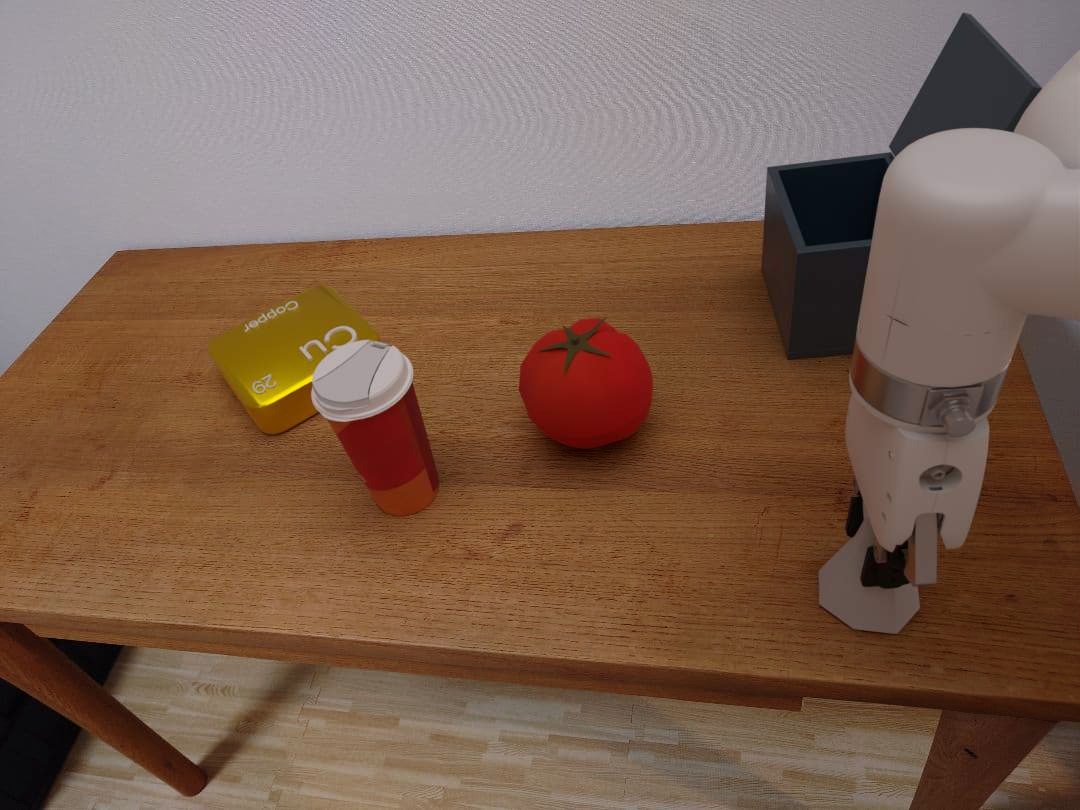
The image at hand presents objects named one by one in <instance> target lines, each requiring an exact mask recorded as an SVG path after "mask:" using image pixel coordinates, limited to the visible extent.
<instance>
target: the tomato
mask: <svg viewBox="0 0 1080 810" xmlns="http://www.w3.org/2000/svg"><path fill="white" fill-rule="evenodd" d="M608 317H609V315H607V316H605V317H604V318H603V319H602V318H598V317H593V318H580V319H578V320H577V321H576V322H574V323H573V324H571V325H570V326H569V327H566V326H565V325H562V328H559V329H553V330H551V331H549V332H546V333H545V334H544V335H542V336H541V337H540V338H539V339H538V340H537V341H535V342H534V343H533V345H532V347H531V348H530V350H529V351H528V353H527V354H526V355H525V357H524V359H523V360H522V362H521V363H520V365H519V366H520V367H519V379H518V380H519V381H518V392H519V394H520V397H521V399H522V402H523V404H524V408H525V410H526V414H527V415H528V418H529V420H530V421H531V422H532V423H533V424H534V425H535V426H536V427H537V428H538V429H539V430H540V431H541V432H542V433H543V435H545V437H547V438H549V439H551V440H553V441H556V442H558V443H559V444H562V445H564V446H566V447H569V448H570V447H571V448H576V449H577V448H578V449H595V448H599V447H603V446H606V445H608V444H611V443H614V442H617V441H621V440H624V439H627V438H629V437H630V436H632V435H633V434H635V433H636V432H637V431H638V430H639V429H640V428H641V426H642V425H643V424H644V422H645V421H646V419H647V418H648V416H649V414H650V410H651V406H652V400H653V392H654V380H653V379H654V378H653V373H652V369H651V366H650V364H649V362H648V360H647V358H646V356H645V354H644V352H643V351H642V349H641V347H640V346H639V344H638V343H637V342H636V341H635V340H634V339H633V338H632V337H630V336H629V335H628V334H627V333H625V332H619V331H618V330H617V329H616V328H615V327H614V326H612V325H611V324H609V323H608V322H606V319H607V318H608Z"/></svg>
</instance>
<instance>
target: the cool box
mask: <svg viewBox="0 0 1080 810" xmlns="http://www.w3.org/2000/svg"><path fill="white" fill-rule="evenodd" d="M894 159H895V156H894V155H893V153H892V151H888V152H881V153H872V154H864V155H863V154H862V155H856V156H848V157H839V158H833V159H832V158H831V159H830V158H829V159H821V160H814V161H805V162H798V163H789V164H782V165H781V164H780V165H772V166H767V167H766V180H765V197H764V198H765V199H764V215H763V233H762V250H761V251H762V252H761V266H760V267H761V269H760V270H761V272H762V276H763V279H764V283H765V287H766V290H767V294H768V297H769V300H770V301H769V302H770V304H771V307H772V310H773V315H774V318H775V321H776V324H777V327H778V331H779V335H780V338H781V341H782V344H783V345H782V346H783V349H784V352H785V356H786V359H787V360H797V359H798V360H799V359H808V358H809V359H810V358H818V357H819V358H820V357H829V356H830V357H831V356H841V355H851V354H852V355H853V349H854V343H855V337H856V332H857V325H858V319H859V314H860V308H861V302H862V296H863V290H864V284H865V278H866V273H867V267H868V261H869V255H870V249H871V243H872V237H873V231H874V225H875V219H876V213H877V207H878V201H879V196H880V191H881V187H882V183H883V179H884V176H885V174H886V171H887V169H888V167H889V166H890V164H891V163H892V161H893V160H894Z"/></svg>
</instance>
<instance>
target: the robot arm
mask: <svg viewBox="0 0 1080 810" xmlns="http://www.w3.org/2000/svg"><path fill="white" fill-rule="evenodd" d="M894 158H895V159H894V160H893V161H892V163H891V164H890V166H889V167H888V169H887V171H886V174H885V176H884V179H883V183H882V187H881V191H880V196H879V201H878V207H877V213H876V219H875V225H874V231H873V237H872V243H871V249H870V255H869V261H868V267H867V273H866V278H865V284H864V290H863V296H862V302H861V308H860V314H859V319H858V325H857V332H856V337H855V343H854V349H853V354H852V356H851V361H850V367H849V374H848V385H849V387H850V390H851V393H850V397H849V402H848V408H847V413H846V419H845V428H844V429H845V430H844V437H845V439H844V440H845V446H846V449H847V454H848V457H849V458H848V459H849V461H850V465H851V467H852V470H853V477H852V480H851V482H852V483H851V485H852V492H853V494H854V496H851V497H850V502H849V506H848V511H847V517H846V521H845V526H844V530H845V533H846V536H847V537H849V538H851V539H852V538H853V537H854V536H855V535H856V533H857V531H858V530H859V528H860V526H861V524H862V523H863V521H864V514H863V501H864V504H865V507H866V510H867V513H868V516H869V519H870V522H871V525H872V528H873V530H874V533H875V541H874V546H870V547H868V548H867V551H866V555H865V559H864V563H863V568H862V572H861V576H860V580H861V584H862V586H863V587H877V586H880V587H881V588H883V589H893V588H898V587H901V586H902V585H907V584H909V583H911V585H912V586H913V587H918V588H919V587H932V586H933V587H934V586H937V581H938V533H939V535H940V537H941V540H942V542H943V545H944V547H945V550H946V551H947V550H956V549H960V548H961V547H962V546H963V545H964V543H965V542H966V540H967V537H968V534H969V532H970V528H971V526H972V522H973V521H974V516H975V513H976V509H977V506H978V502H979V498H980V495H981V490H982V486H983V482H984V479H985V471H986V467H987V459H988V451H989V441H990V423H989V420H988V416H989V415H990V414H991V413H992V411H993V409H994V408H995V406H996V403H997V400H998V398H999V395H1000V393H1001V391H1002V388H1003V384H1004V381H1005V379H1006V376H1007V373H1008V370H1009V368H1010V366H1011V362H1012V359H1013V356H1014V353H1015V351H1016V348H1017V346H1018V342H1019V340H1020V336H1021V335H1022V331H1023V329H1024V326H1025V323H1026V320H1027V318H1028V316H1030V315H1031V316H1041V317H1050V318H1056V319H1063V320H1071V321H1078V322H1080V49H1078V51H1077V52H1076V53H1074V54H1073V55H1072V56H1071V58H1069V60H1068V61H1067V62H1065V63H1064V65H1062V67H1061V68H1060V69H1059V70H1058V71H1056V73H1055V74H1053V76H1051V78H1050V79H1049V80H1048V81H1047V82H1046V83H1045V85H1043V87H1042V89H1041V91H1040V92H1039V93H1038V95H1037V96H1036V97H1035V98H1034V100H1033V101H1032V102H1031V104H1030V105H1029V106H1028V108H1027V109H1026V110H1025V112H1024V114H1023V115H1022V117H1021V119H1020V121H1019V122H1018V124H1017V126H1016V128H1015V130H1014V132H1008V131H1003V130H996V129H988V128H961V129H953V130H947V131H942V132H938V133H934V134H931V135H928V136H926V137H924V138H921V139H919V140H917V141H915V142H913V143H912V144H910V145H908V146H907V147H906V148H905V149H904V150H902V151H901V152H900V153H899V154H898V155H897V156H896V157H895V156H894Z"/></svg>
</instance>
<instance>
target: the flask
mask: <svg viewBox="0 0 1080 810" xmlns="http://www.w3.org/2000/svg"><path fill="white" fill-rule="evenodd" d="M863 514H864V521H863V523H862V524H861V526H860V528H859V530H858V531H857V533H856V535H855V536H854V537H853V538H851V539H849V540H848V541H847V542H846V543H844V545H843V546H842V547H841V548H840V549H839V550H838V551H837V552H836V553H834V555H833V556H831V558H830V559H829V560H828V561H826V562H825V564H824V565H822V567H820V569H819V570H818V604H819V606H821V607H822V608H823V609H825V610H827V612H829V613H830V614H832V615H833V616H834V617H836V618H837V619H839V620H840V621H841V622H843V623H844V624H846V625H847V626H848V627H850V628H851V629H852V630H856V631H857V630H858V631H868V632H873V633H875V632H876V633H882V634H883V633H884V634H893V635H898V634H899V632H900V631H902V629H903V628H904V627H905V626H906V625H907V624H908V623H909V621H910V620H911V619H912V618H913V616H915V615H916V613H917V612H919V610H920V609H921V605H920V604H921V603H920V596H919V595H920V594H919V586H918V587H913V586H912V585H911V583H909V584H907V585H902V586H901V587H898V588H893V589H883V588H881V587H880V586H877V587H863V586H862V584H861V580H860V576H861V572H862V568H863V563H864V559H865V555H866V551H867V548H868V547H870V546H874V541H875V533H874V530H873V528H872V525H871V522H870V519H869V516H868V513H867V510H866V507H865V504H864V501H863Z"/></svg>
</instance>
